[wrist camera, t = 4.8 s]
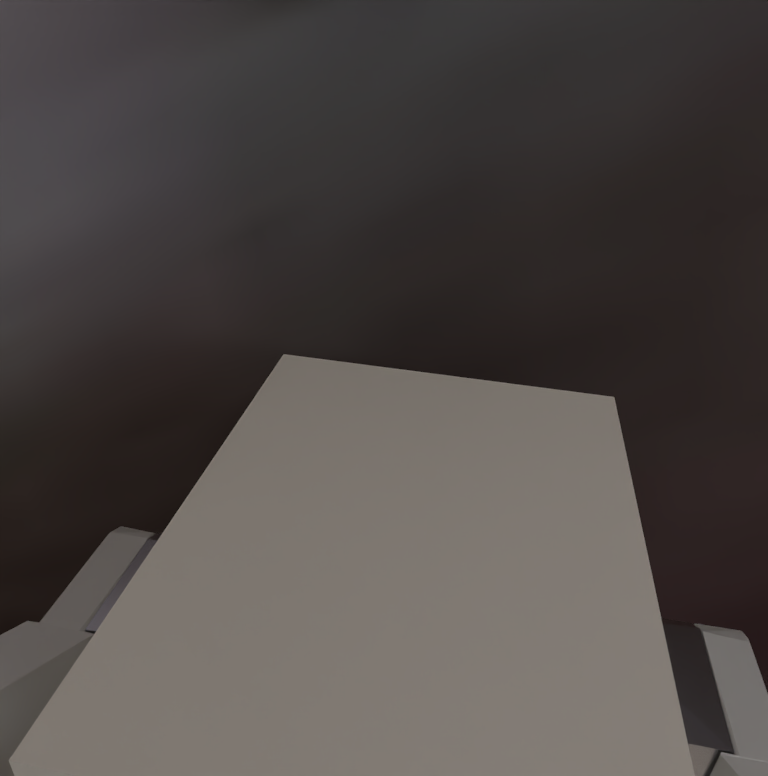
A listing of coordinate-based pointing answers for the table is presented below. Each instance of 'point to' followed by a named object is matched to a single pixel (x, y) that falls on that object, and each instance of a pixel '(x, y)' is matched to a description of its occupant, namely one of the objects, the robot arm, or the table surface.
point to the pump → (385, 598)
